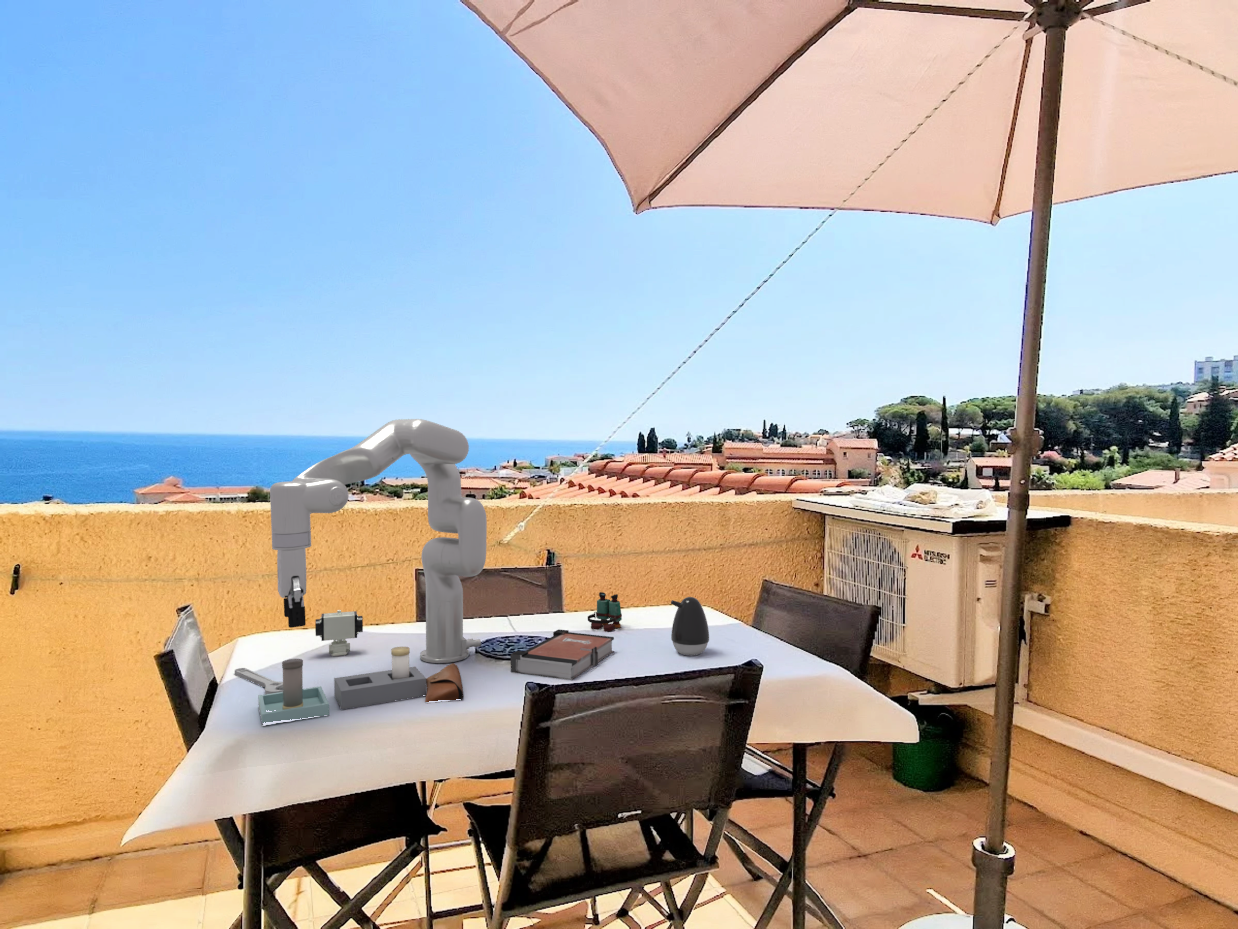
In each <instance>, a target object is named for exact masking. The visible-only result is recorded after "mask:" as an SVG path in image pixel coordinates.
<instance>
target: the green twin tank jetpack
mask: <svg viewBox="0 0 1238 929" xmlns="http://www.w3.org/2000/svg"><path fill="white" fill-rule="evenodd" d="M618 595H619V594H617V593H616V594H613V595H611V596H610V599H607V598H606V596H607V595H606V593H605V592H603V591H599V592H598V596H599V599H597V600H596V611H593V613H592V614H590V615H588V616H587V621H588V622H589V623H590V629H592V630H594V631H596V630H597V631H598V630H601V629H602V628H603V632H611V631H613V630H615V629H618V628H621V627H622V624H621V623H620V622H621V621H622V620H623V618H622V617H623V615H622V608H621V602H620V601H619V600H618V598H619V596H618ZM593 618H594V619H593Z"/></svg>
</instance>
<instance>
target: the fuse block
mask: <svg viewBox="0 0 1238 929" xmlns="http://www.w3.org/2000/svg"><path fill="white" fill-rule="evenodd" d="M426 678H427V677H426V676H425V675H424V674H423V673H422V671H420V670H419V668H417V666H409V677H408V678H402V679H395V680H392V669H390V670H389V669H387V670H382V671H375V672H368V673H361V674H354V675H347V676H346V675H345V676H341V677H334V678H333V679H334V680H333V682H334V683H333V685H334V688H333V689H334V694H333V695H334V698H335V700H336V701H337V704H338V706H339V709H340V710H341V709H344V710H348V709H347V708H350V709H353V707H356V708H361V707H360V706H362V707H367V706H366V705H368V706H373V705H372V704H375V705H380V703H381V704H386V702H387V703H393V702H396V701H395V700H399V701H402V700H401V699H405V700H408V699H407V698H411V699H413V698H412V697H417V698H419V697H418V696H423V695H426V693H427V684H426ZM423 697H424V696H423ZM392 701H393V702H392Z"/></svg>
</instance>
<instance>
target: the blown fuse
mask: <svg viewBox="0 0 1238 929" xmlns="http://www.w3.org/2000/svg"><path fill="white" fill-rule="evenodd" d="M303 666H304V660H303V659H302V658H289V659H285V660H283V661H282V662H281V667H282V682H283V710H285V709H291V708H297V707H303V689H304V688H303V685H304V684H303V678H304V677H303V676H304V675H303Z"/></svg>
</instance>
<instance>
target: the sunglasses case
mask: <svg viewBox="0 0 1238 929" xmlns="http://www.w3.org/2000/svg"><path fill="white" fill-rule="evenodd" d="M425 678H426V696H425V698H424V699H425V700H424V703H425V702H429V701H438V700H456V699H461V701H462V700H463V699H464V687H463V683H462V675H461V673H460V669H459V667H458V665H457V664H456V663H454V662H451V663H450V664H448V665H446V666H445V667H444V668H443V669H441V670H440V671H438V672H436V673H434V674H432V675H430V676H428V677H425Z"/></svg>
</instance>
